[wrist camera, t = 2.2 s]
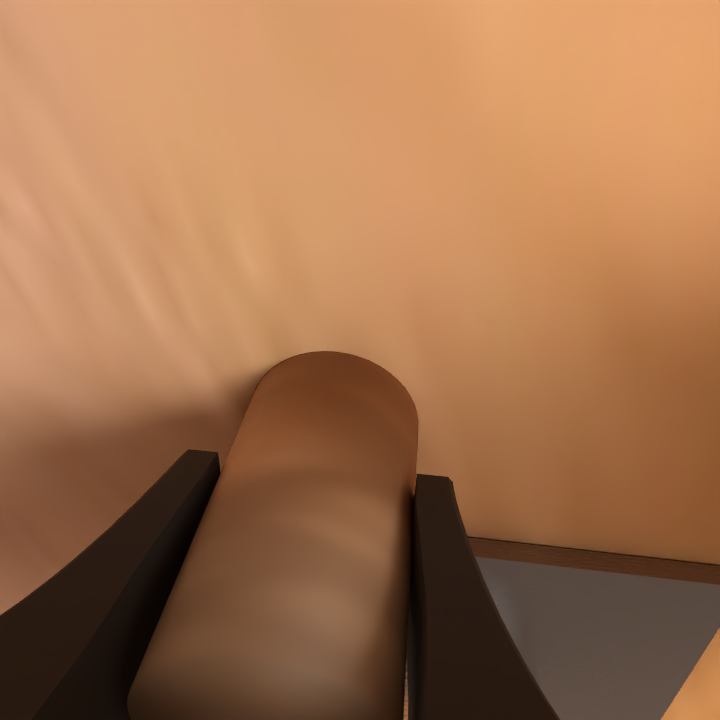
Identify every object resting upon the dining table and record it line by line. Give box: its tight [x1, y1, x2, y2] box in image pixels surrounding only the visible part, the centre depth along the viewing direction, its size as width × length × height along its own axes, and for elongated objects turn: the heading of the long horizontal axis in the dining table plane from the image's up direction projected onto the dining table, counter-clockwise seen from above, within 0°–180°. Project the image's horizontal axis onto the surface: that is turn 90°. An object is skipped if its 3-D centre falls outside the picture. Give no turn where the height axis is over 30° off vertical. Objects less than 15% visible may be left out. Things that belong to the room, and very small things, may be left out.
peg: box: [127, 352, 418, 720], centre depth 12 cm, size 4×4×7 cm
